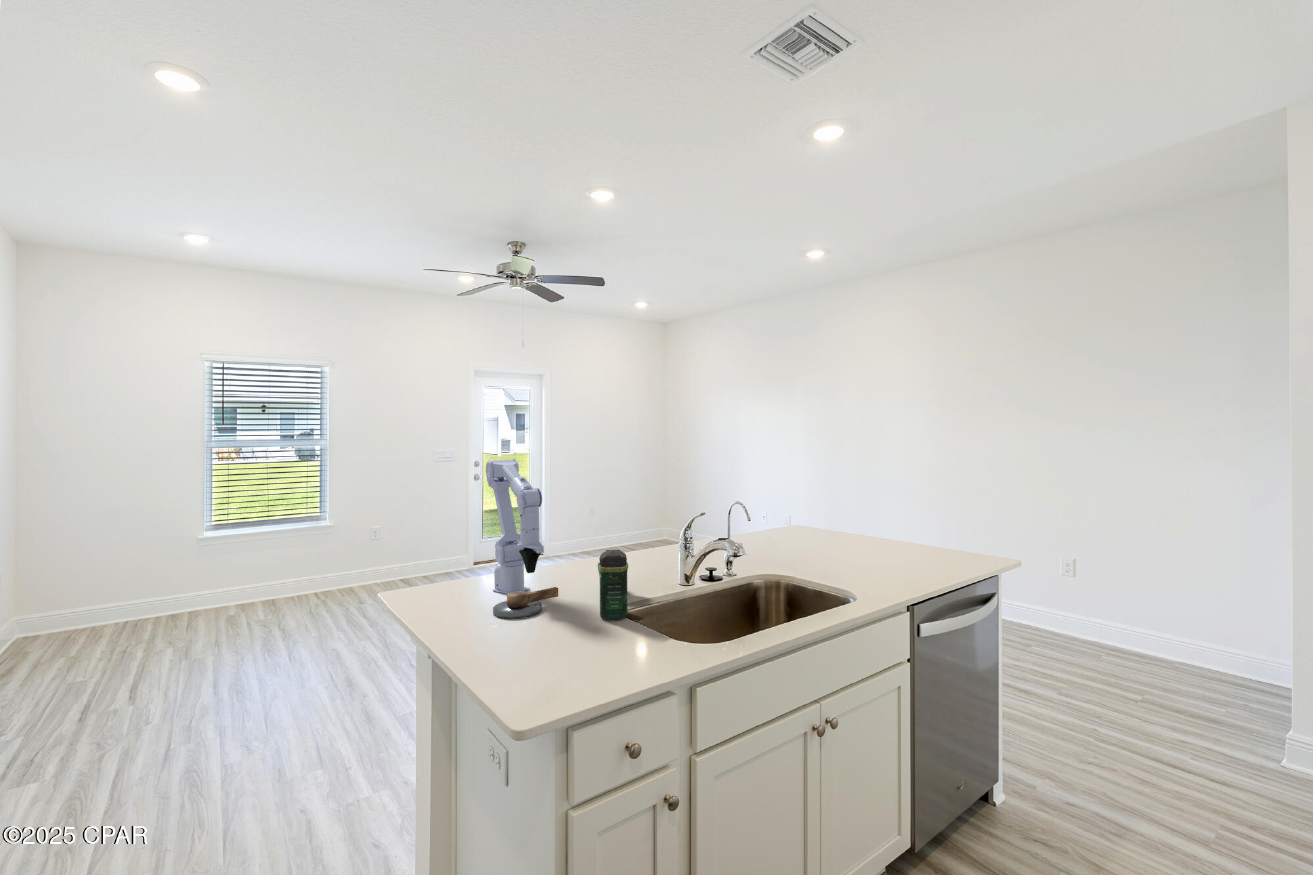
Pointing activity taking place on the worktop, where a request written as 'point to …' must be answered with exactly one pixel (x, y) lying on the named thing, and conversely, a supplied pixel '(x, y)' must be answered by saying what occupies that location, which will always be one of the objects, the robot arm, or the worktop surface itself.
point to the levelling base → (516, 610)
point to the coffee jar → (613, 585)
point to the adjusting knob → (530, 597)
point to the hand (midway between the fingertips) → (530, 572)
